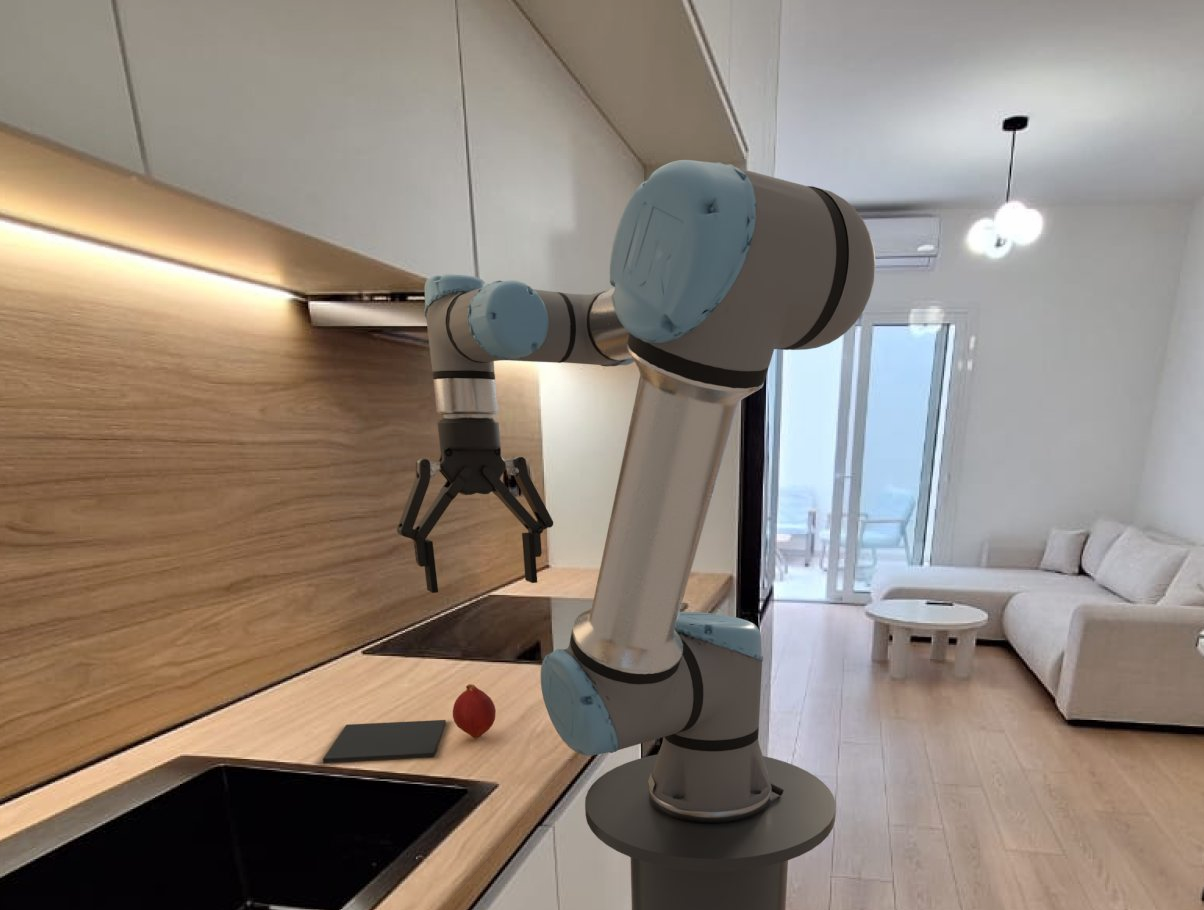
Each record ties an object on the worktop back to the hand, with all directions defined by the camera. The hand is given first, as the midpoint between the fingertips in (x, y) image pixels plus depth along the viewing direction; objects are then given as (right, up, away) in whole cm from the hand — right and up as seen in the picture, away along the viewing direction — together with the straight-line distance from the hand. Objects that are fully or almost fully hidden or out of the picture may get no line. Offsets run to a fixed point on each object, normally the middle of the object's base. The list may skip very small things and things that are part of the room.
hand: (483, 586), depth 109 cm
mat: (-14, -21, +3) cm, 26 cm away
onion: (-2, -21, +5) cm, 21 cm away
